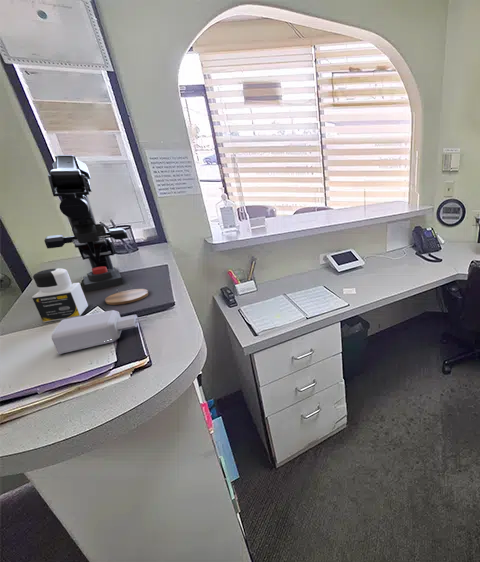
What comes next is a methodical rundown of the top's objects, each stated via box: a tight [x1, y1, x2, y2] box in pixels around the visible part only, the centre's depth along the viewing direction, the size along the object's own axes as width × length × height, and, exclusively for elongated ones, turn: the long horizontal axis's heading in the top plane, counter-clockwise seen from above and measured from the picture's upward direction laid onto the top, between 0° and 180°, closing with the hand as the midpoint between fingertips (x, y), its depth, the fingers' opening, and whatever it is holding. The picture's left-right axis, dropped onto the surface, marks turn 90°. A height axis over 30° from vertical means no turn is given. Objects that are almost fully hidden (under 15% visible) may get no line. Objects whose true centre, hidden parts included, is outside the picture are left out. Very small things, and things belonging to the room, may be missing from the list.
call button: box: [91, 266, 108, 274], centre depth 99 cm, size 4×4×2 cm
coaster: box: [104, 288, 150, 306], centre depth 90 cm, size 10×10×1 cm
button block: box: [82, 269, 124, 292], centre depth 100 cm, size 10×9×4 cm
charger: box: [51, 309, 148, 355], centre depth 69 cm, size 5×9×15 cm
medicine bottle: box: [31, 267, 89, 323], centre depth 78 cm, size 7×7×12 cm
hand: (97, 264), depth 99 cm, fingers closed
